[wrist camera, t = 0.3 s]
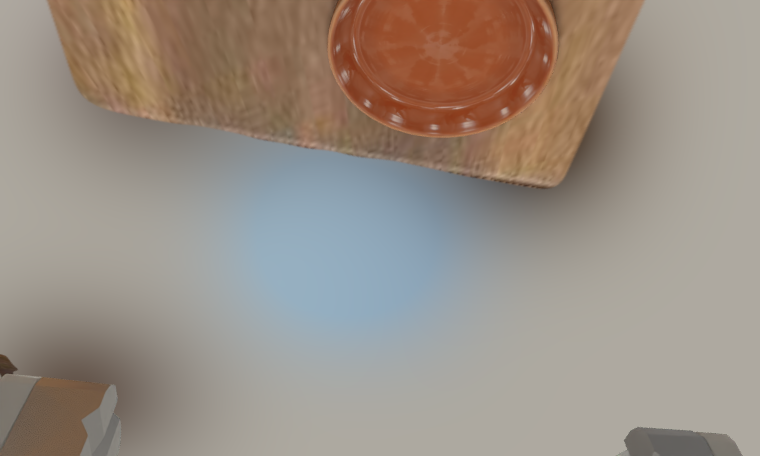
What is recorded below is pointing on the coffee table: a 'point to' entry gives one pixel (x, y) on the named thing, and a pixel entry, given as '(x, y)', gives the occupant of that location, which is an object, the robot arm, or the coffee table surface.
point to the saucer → (442, 61)
